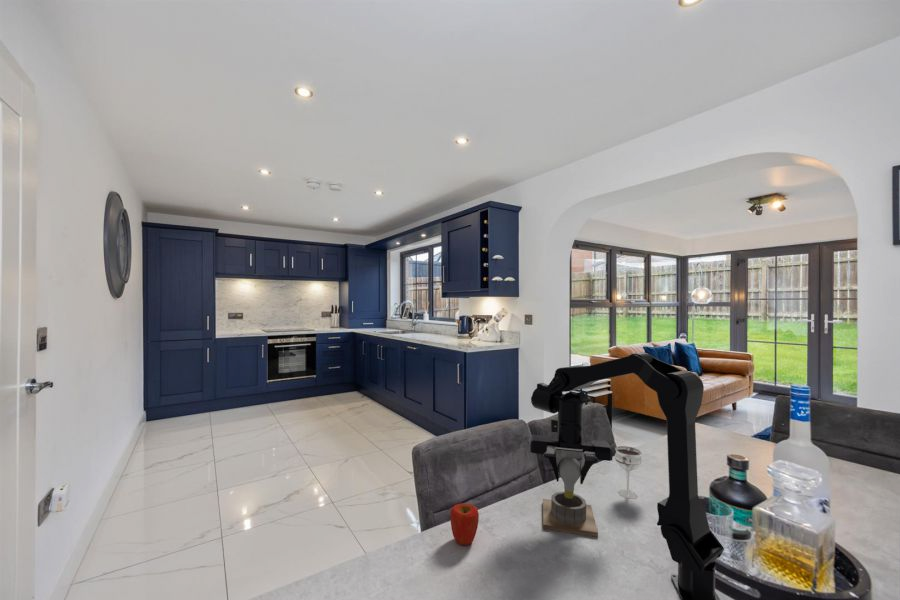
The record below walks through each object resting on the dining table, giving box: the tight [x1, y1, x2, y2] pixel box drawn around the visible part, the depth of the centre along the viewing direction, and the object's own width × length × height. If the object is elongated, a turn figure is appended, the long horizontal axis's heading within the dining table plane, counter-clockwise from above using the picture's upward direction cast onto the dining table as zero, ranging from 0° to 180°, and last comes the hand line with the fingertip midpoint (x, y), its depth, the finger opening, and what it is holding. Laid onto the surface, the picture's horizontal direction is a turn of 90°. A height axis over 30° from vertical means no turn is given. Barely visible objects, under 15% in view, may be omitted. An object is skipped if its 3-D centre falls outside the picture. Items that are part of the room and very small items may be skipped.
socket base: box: [542, 491, 599, 538], centre depth 93 cm, size 12×12×4 cm
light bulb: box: [557, 456, 581, 499], centre depth 93 cm, size 6×6×10 cm
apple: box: [449, 502, 480, 546], centre depth 83 cm, size 6×6×8 cm
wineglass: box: [614, 445, 643, 499], centre depth 105 cm, size 7×7×12 cm
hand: (569, 482), depth 93 cm, fingers closed on light bulb, 5 cm apart
